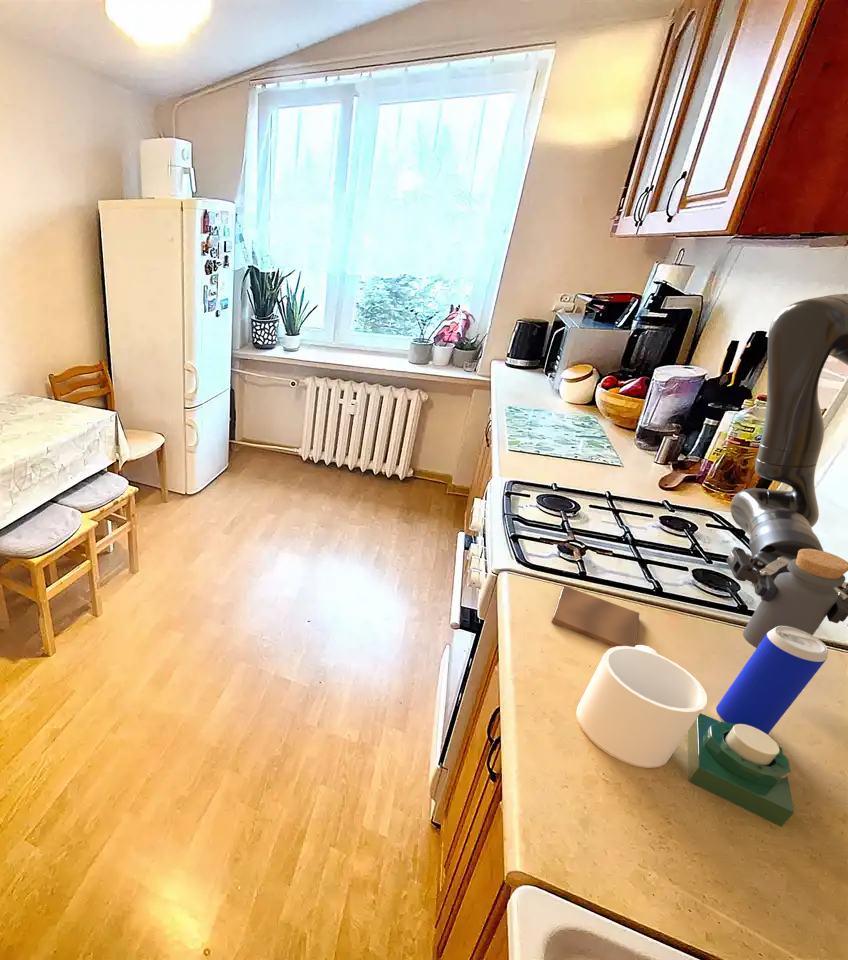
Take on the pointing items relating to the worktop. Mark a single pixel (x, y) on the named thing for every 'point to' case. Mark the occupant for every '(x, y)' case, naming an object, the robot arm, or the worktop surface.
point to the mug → (639, 705)
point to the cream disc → (752, 744)
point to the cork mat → (596, 618)
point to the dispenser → (738, 772)
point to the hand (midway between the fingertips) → (802, 606)
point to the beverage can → (772, 678)
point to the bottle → (799, 595)
